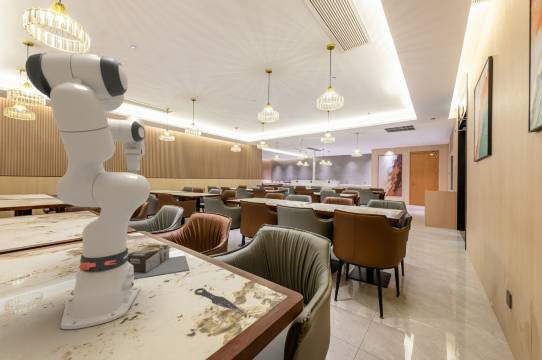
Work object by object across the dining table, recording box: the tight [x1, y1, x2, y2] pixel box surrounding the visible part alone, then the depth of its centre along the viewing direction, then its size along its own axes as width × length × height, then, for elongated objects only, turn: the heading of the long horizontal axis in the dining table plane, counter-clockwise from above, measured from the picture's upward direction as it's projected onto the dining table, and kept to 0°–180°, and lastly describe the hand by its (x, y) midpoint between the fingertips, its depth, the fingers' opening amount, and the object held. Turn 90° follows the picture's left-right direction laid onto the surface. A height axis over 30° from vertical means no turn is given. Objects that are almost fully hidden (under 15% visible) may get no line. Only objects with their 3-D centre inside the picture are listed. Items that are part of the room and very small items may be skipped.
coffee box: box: [127, 243, 170, 273], centre depth 95 cm, size 9×6×16 cm
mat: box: [134, 255, 190, 280], centre depth 94 cm, size 17×20×1 cm
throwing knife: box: [194, 287, 242, 312], centre depth 70 cm, size 4×20×1 cm, turn 56°
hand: (134, 180), depth 110 cm, fingers closed
